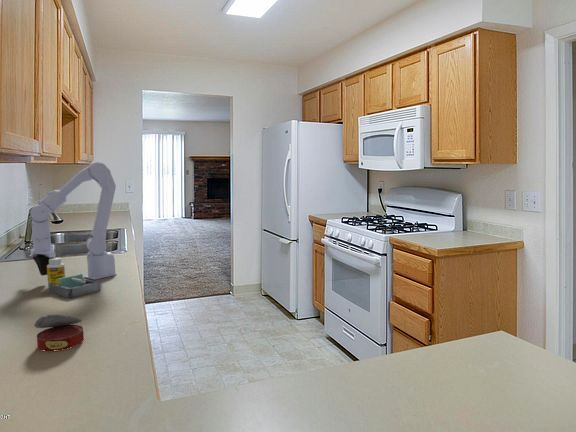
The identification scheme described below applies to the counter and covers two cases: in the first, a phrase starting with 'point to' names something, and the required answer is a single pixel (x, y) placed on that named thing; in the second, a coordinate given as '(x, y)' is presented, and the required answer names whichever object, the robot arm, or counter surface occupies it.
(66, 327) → the canned food
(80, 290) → the grey piece
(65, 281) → the pusher
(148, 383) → the counter surface
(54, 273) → the supplement bottle
